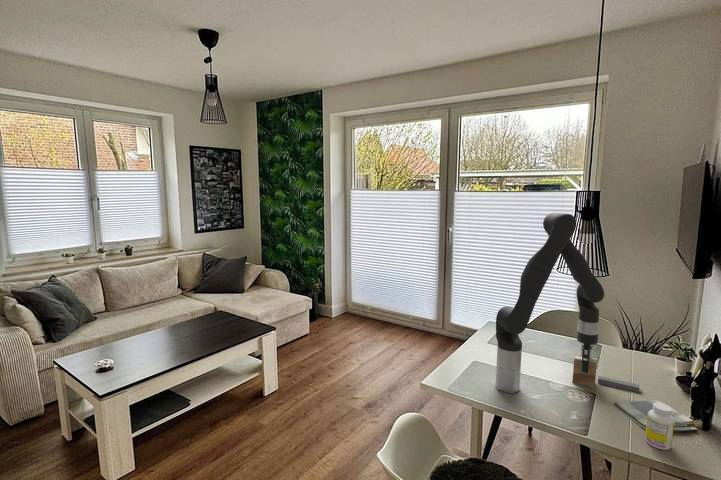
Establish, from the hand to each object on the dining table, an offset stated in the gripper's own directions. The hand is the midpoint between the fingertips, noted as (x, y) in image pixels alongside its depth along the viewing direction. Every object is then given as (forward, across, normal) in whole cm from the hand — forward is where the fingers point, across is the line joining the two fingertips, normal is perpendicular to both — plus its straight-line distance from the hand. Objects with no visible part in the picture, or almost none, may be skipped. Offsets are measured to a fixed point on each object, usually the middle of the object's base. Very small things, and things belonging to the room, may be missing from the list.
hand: (585, 368), depth 160 cm
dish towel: (+7, -15, -22) cm, 28 cm away
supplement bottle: (+6, -32, -22) cm, 39 cm away
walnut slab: (+6, 0, 0) cm, 7 cm away
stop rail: (+7, +4, -12) cm, 14 cm away
